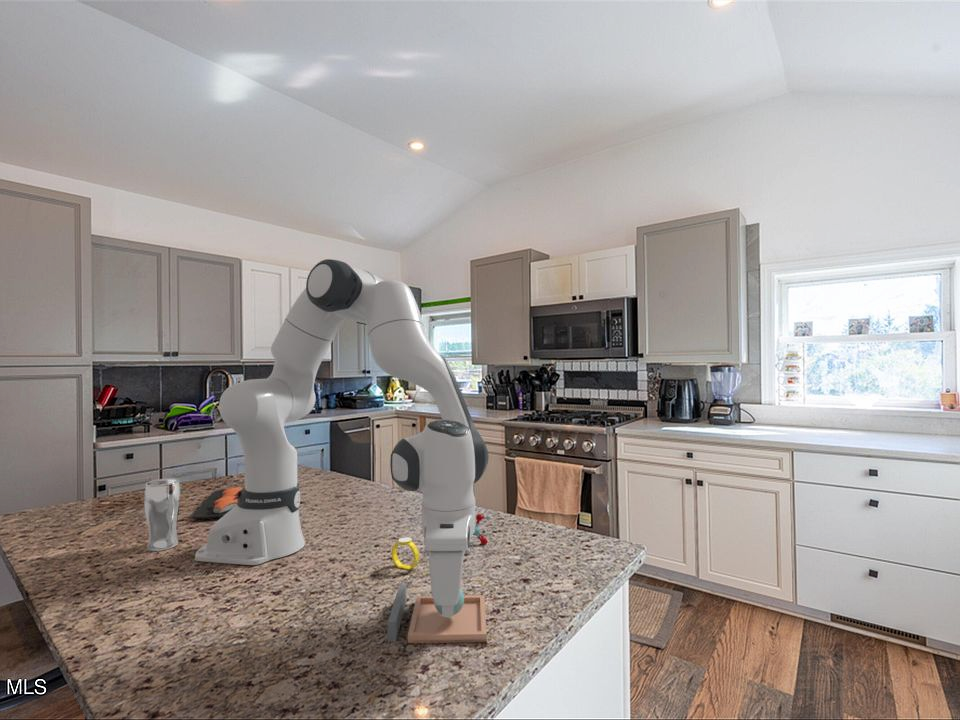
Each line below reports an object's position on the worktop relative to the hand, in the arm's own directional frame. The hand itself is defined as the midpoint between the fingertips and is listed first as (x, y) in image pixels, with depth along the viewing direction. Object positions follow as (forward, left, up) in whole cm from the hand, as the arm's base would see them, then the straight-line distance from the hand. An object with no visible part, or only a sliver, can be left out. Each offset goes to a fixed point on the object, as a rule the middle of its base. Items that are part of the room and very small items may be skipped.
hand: (448, 604), depth 78 cm
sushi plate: (-61, +67, -4) cm, 91 cm away
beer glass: (-68, +33, -3) cm, 76 cm away
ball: (0, 0, -2) cm, 2 cm away
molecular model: (+2, +31, -3) cm, 32 cm away
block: (-8, 0, -3) cm, 9 cm away
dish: (0, 0, -3) cm, 3 cm away
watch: (-10, +20, -3) cm, 23 cm away
